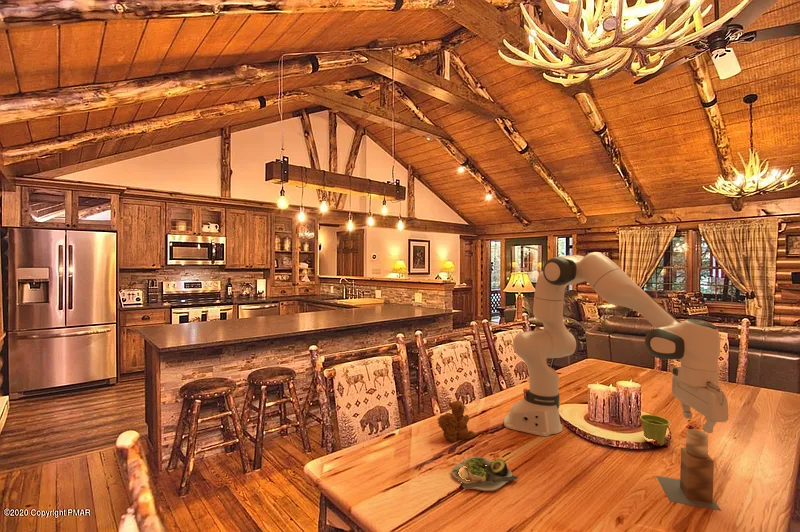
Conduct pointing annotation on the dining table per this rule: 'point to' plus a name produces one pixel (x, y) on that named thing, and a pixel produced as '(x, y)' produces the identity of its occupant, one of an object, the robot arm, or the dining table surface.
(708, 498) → the tower base
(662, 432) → the plant pot
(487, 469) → the salad plate
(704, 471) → the tower top
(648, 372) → the dining table surface
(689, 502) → the felt mat
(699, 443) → the birch round
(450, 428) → the stuffed squirrel
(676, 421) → the dining table surface
